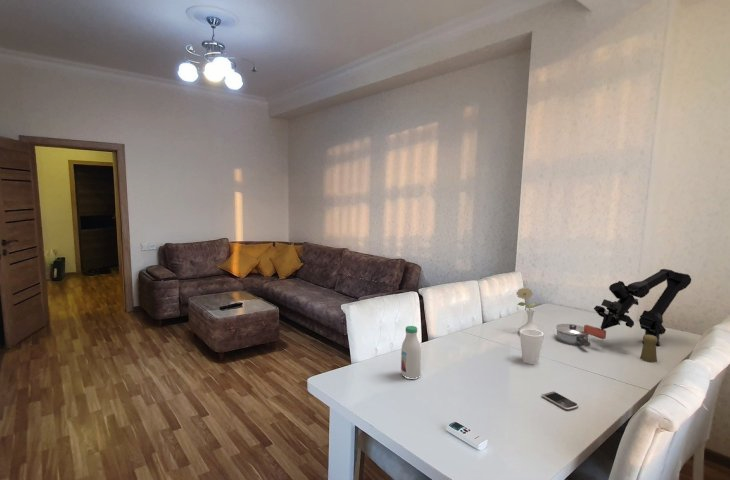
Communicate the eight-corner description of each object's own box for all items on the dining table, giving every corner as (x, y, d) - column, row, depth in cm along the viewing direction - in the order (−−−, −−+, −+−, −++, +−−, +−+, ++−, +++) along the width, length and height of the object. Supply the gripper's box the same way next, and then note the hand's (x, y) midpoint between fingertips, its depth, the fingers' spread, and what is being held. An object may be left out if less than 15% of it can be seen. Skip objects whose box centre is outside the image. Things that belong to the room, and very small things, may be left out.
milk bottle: (422, 373, 155) (422, 325, 153) (418, 381, 148) (419, 331, 146) (403, 370, 158) (404, 323, 156) (399, 378, 151) (399, 329, 149)
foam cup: (542, 359, 169) (543, 330, 168) (542, 367, 161) (543, 337, 159) (519, 355, 173) (520, 327, 172) (518, 363, 165) (519, 334, 163)
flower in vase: (542, 333, 201) (545, 287, 199) (539, 340, 192) (541, 291, 189) (516, 329, 208) (518, 284, 206) (512, 335, 199) (514, 288, 196)
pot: (549, 333, 202) (550, 324, 201) (577, 334, 201) (577, 325, 200) (571, 351, 177) (571, 341, 177) (602, 352, 176) (603, 342, 176)
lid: (549, 328, 195) (550, 319, 194) (569, 324, 201) (569, 315, 200) (594, 343, 174) (594, 333, 173) (614, 338, 180) (614, 328, 180)
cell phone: (567, 413, 127) (567, 409, 127) (539, 397, 137) (540, 393, 137) (579, 409, 130) (580, 405, 129) (552, 393, 140) (552, 390, 139)
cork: (660, 363, 165) (662, 338, 164) (644, 361, 167) (646, 337, 165) (652, 357, 171) (654, 333, 170) (637, 356, 172) (639, 332, 171)
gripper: (598, 289, 190) (577, 312, 189) (630, 298, 172) (607, 324, 171) (610, 304, 192) (590, 326, 191) (644, 315, 174) (621, 340, 173)
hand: (601, 328), depth 182 cm, fingers closed
